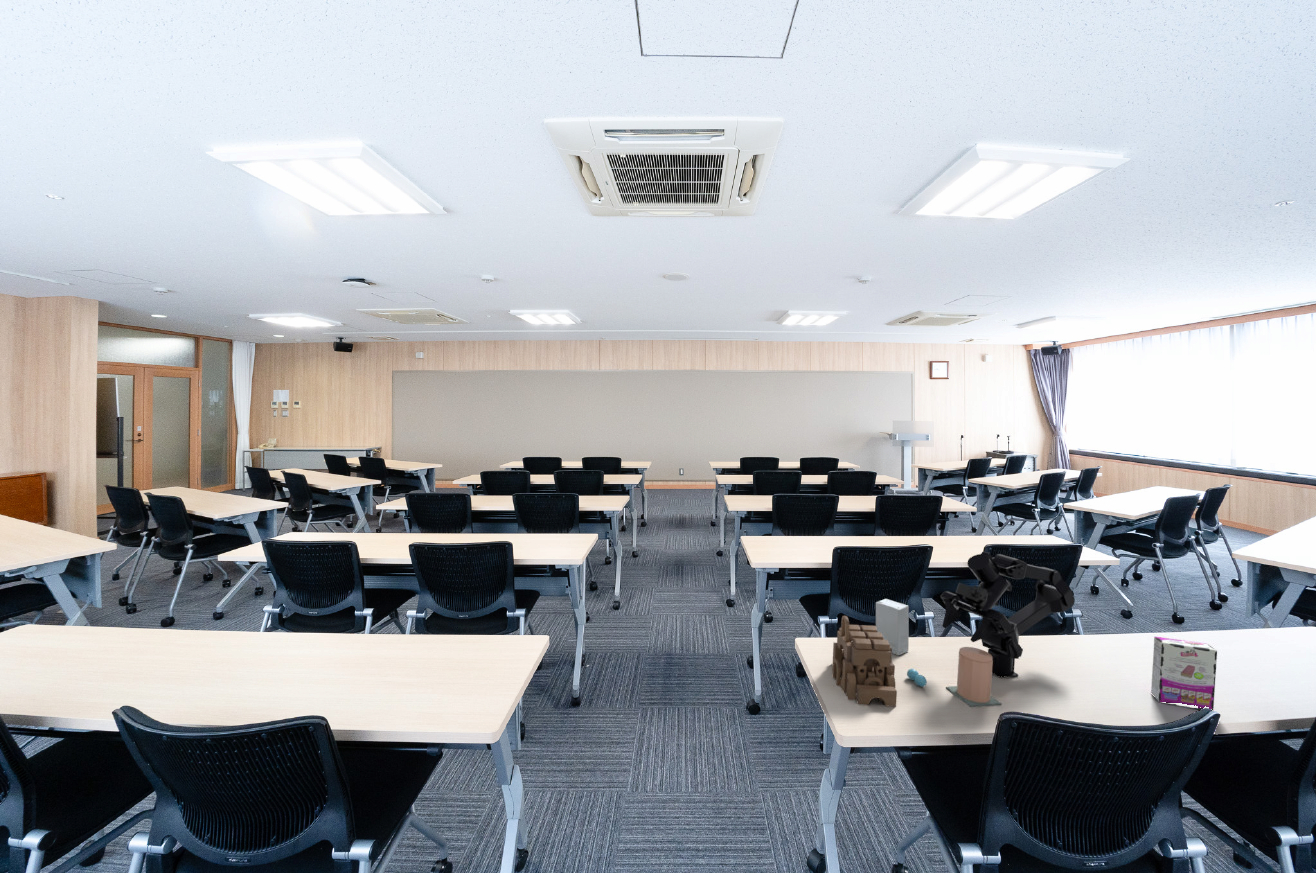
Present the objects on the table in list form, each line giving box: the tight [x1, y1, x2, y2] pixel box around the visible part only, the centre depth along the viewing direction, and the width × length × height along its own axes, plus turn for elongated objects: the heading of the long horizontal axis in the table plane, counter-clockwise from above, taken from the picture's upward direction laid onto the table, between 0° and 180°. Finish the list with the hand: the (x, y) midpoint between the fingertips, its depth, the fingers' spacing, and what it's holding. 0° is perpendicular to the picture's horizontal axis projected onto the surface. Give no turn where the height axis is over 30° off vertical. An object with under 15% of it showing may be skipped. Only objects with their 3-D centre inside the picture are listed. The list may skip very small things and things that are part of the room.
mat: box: [945, 685, 1002, 708], centre depth 140 cm, size 9×9×1 cm
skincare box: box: [875, 598, 910, 656], centre depth 166 cm, size 8×6×15 cm
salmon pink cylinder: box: [956, 646, 993, 703], centre depth 140 cm, size 8×8×11 cm
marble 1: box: [906, 668, 920, 681], centre depth 148 cm, size 3×3×3 cm
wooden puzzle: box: [831, 615, 898, 707], centre depth 145 cm, size 22×15×19 cm, turn 176°
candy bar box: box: [1150, 636, 1218, 711], centre depth 139 cm, size 11×5×16 cm, turn 68°
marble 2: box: [913, 674, 928, 688], centre depth 144 cm, size 3×3×3 cm
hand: (957, 633), depth 147 cm, fingers open, 9 cm apart
